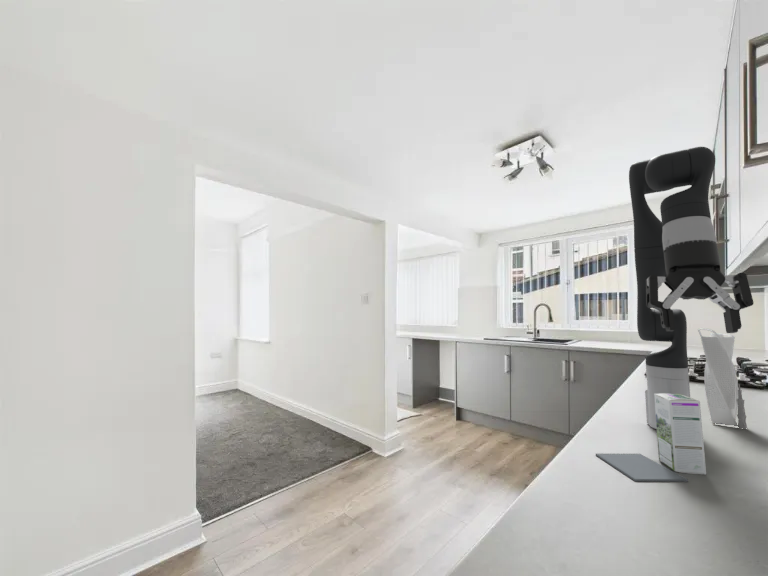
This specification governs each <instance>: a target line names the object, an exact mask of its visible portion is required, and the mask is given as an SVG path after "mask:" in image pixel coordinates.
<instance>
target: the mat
mask: <svg viewBox="0 0 768 576" xmlns="http://www.w3.org/2000/svg"><path fill="white" fill-rule="evenodd" d="M595 456H596V457H597V458H599V459H600V460H602V461H603V462H605V463H606V464H607V465H610V466H611V467H613V468H614V469H616V470H617V471H619V472H620V473H622V474H623V475H625V476H627V478H629V479H631V480H633V481H634V482H676V483H677V482H685V483H686V482H688V481H689V480H688V478H686V477H684V476H682V475H681V474H679V473H678V472H675V471H673V470H672V469H670V468H669V467H667V466H666V467H665V466H664V465H662V464H660V463H658V462H656V461H655V460H652V459H650V458H649V457H648V456H645V455H644V454H642V453H595Z"/></svg>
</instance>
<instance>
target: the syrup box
mask: <svg viewBox="0 0 768 576" xmlns="http://www.w3.org/2000/svg"><path fill="white" fill-rule="evenodd" d="M654 398H655V413H656V426H657V429H656V436H657V437H656V438H657V440H656V441H657V450H658V452H657V453H658V461H659V462H660V463H662V464H664V465H665V466H666V467H667V468H668V469H670V470H671V471H673V472H675V473H680V474H681V473H682V474H689V475H690V474H691V475H692V474H694V475H705V476H706V475H707V467H706V466H707V465H706V457H705V456H706V455H705V443H704V435H703V434H704V432H703V422H702V421H703V420H702V409H701V401H700V400H699V399H695V398H692V397H691V396H690V397H687V396H684V395H681V394H671V393H659V394H654Z"/></svg>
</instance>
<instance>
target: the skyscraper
mask: <svg viewBox="0 0 768 576" xmlns="http://www.w3.org/2000/svg"><path fill="white" fill-rule="evenodd" d="M701 330H702V331H708V332H709V331H710V332H711V333H709V334H710V335H708V336H707V335H702V333H701ZM697 332H698V334H699V337H700V340H701V344H702V349H703V353H704V357H705V365H704V373H703V374H704V391H705V397H706V403H707V408H708V412H709V420H710V419H711V421H712V422H711V421H710V422H711V424H712V425H713V426H715V423H716V424H725V425H734V426H738V427H739V428H743V429H746V428H747V429H748V426H747V415H746V410H745V399H743V394H742V393H743V392H742V389H741V383H738V377H737V376H738V375H737V372H736V369H735V366H734V363H733V360H732V359H733V356H734V355H733V354H734V348H735V345H734V344H735V337H736V336H735V335H733V334H731V333H717V332H716V331H715V330H713V329H711V328H706V327H701V328H698V329H697ZM736 421H737V422H736ZM737 423H738V425H737Z"/></svg>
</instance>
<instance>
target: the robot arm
mask: <svg viewBox="0 0 768 576" xmlns="http://www.w3.org/2000/svg"><path fill="white" fill-rule="evenodd" d="M715 165H716V156H715V153H714V152H713V150H712V149H710V148H708V147H706V146H696V147H692V148H685V149H682V150H677V151H673V152H672V151H671V152H667V153H663V154H659V155H655V156H653V157H652V158H649V159H645V160H640V161H636V162H633V163H632V164H631V165H630V167H629V170H628V171H629V172H628V183H629V192H630V193H629V194H630V199H631V207H632V209H631V210H632V216H633V245H634V246H633V251H634V264H635V265H634V266H635V275H636V284H637V285H636V287H637V289H636V290H637V292H636V295H637V296H636V297H637V298H636V299H637V301H636V302H637V304H636V305H637V306H636V309H637V310H636V316H637V317H636V318H637V319H636V320H637V321H636V323H637V325H636V326H637V327H636V328H637V333H638V336H639V338H640V339H641V340H642V341H645V342H667V343H671V345H670V346H668V348H666V349H664V350H661V351H657V352H652V353H649V354H646V355H645V374H646V388H647V389H645V391H644V396H645V398H644V399H645V411H646V412H645V413H646V424H648V425H649V426H650V427H651V428H652V429H655V430H657V426H656V413H655V398H654V394H659V393H671V394H681V395H684V396H687V397H690V398H691V389H690V388H691V387H690V375H689V374H690V373H689V363H688V361H689V359H688V345H687V343H688V341H687V337H688V335H687V333H688V323H687V317H686V314H685V313H684V311H683V310H682V309H678V308H671V307H672V306H673V305H674V304H675V303H676V302H677V301H678V299H682V300H692V299H694V300H706V299H708V300H709V301H711V302H712V303H713V304H716V306H718V307H719V308H721V309H722V310H723V311H724V312H722V313H723V321H724V327H725V332H726V334H735V333H738V332H739V330H741V328H742V321H741V314H740V313H741V312H740V311H741V310H743V309H746V308H749V307H751V306H753V305H754V302H755V301H754V299H753V296H752V292H751V287H750V284H749V280H748V276H747V274H746V273H744V272H739V273H737V274H729V275H728V274H727V275H724V274H723V272H722V270H721V262H720V255H719V249H718V243H717V242H718V239H717V236H716V235H717V234H716V231H715V227H714V225H713V222H712V221H713V220H712V217H711V210H710V203H709V195H710V194H709V193H710V185H711V180H712V177H713V173H714V170H715ZM686 186H690V187H688V188H686V189H684V190H681V191H678V192H676V193H673V194H671V195H668V196H666V197H665V198H664V199H663V200H662V201H661V203H660V208H659V209H660V217H661V218H660V219H661V220H660V219H659V218H658V216H657V215H656V214H655V213H654V212H653V210H652V209H651V208H650V206H649V204H648V202H647V200H646V196H645V195H648V194H654V193H661V192H666V191H670V190H673V189H676V188H682V187H686ZM663 283H664V284H665V286H666V287H667V288H668V289H670V292H669V294H668V295H667V296H666V297H665V298H664V300H663V301H661V300H659V288H661V286H662V284H663ZM724 283H726V284H727V286H728V287H730V288H731V290H732V293H733V297H734V299H733V298H732V297H731V295H730V293H729V292H728V291H726V290H725V289H724V288H722V285H723V284H724Z"/></svg>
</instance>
